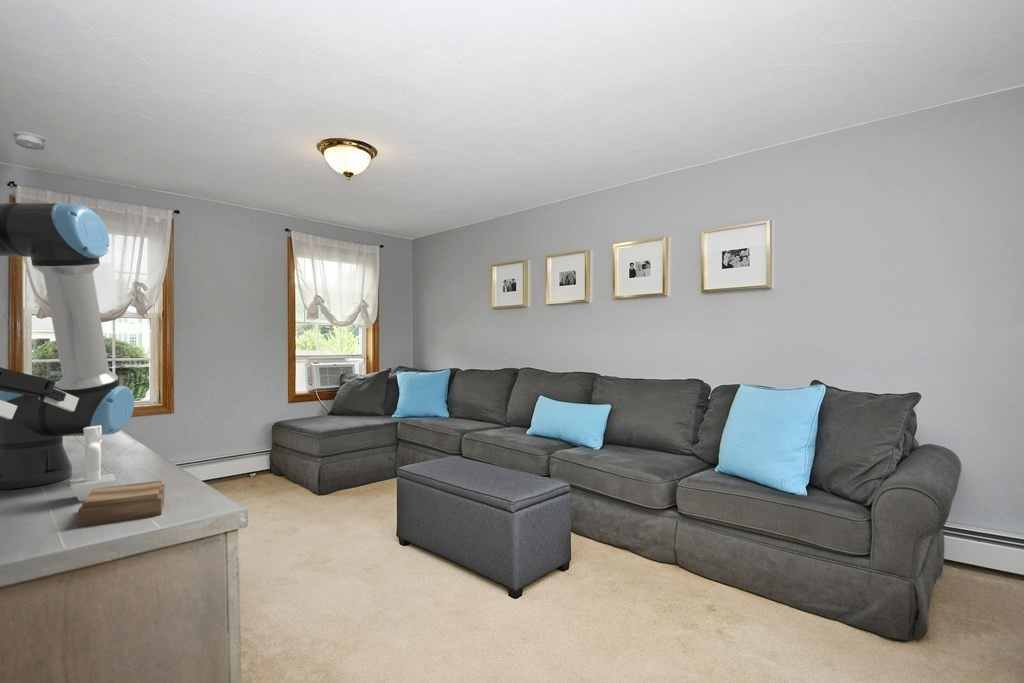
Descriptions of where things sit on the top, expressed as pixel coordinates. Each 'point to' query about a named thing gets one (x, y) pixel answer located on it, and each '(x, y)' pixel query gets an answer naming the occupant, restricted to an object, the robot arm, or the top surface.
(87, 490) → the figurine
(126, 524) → the top surface
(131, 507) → the plinth
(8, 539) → the top surface
